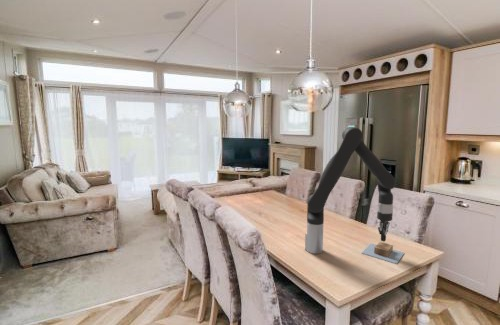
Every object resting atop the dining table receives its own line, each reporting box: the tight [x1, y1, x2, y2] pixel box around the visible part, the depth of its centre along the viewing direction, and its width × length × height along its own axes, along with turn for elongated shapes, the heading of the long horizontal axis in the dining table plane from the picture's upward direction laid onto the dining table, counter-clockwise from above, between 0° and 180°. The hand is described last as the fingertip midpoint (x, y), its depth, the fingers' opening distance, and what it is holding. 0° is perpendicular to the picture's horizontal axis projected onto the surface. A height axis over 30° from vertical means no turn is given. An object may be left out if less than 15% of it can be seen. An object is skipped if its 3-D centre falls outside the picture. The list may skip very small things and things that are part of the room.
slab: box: [374, 241, 394, 257], centre depth 150 cm, size 7×4×10 cm
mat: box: [361, 243, 405, 265], centre depth 150 cm, size 18×16×1 cm
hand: (383, 240), depth 147 cm, fingers closed
